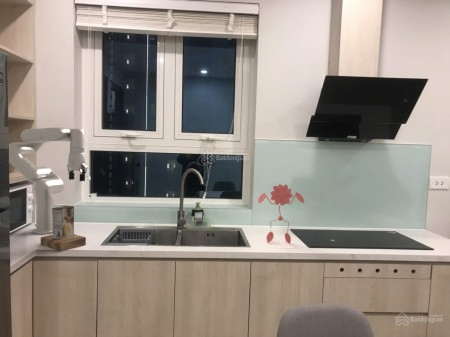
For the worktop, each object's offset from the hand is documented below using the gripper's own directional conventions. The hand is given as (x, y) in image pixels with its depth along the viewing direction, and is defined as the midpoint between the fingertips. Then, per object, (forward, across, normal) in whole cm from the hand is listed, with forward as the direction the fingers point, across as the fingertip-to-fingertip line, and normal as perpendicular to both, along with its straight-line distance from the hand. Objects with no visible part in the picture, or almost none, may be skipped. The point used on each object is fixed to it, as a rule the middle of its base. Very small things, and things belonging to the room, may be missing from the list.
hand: (76, 180), depth 197 cm
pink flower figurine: (+32, +102, +58) cm, 122 cm away
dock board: (+32, +10, -15) cm, 37 cm away
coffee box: (+28, +10, -15) cm, 34 cm away
